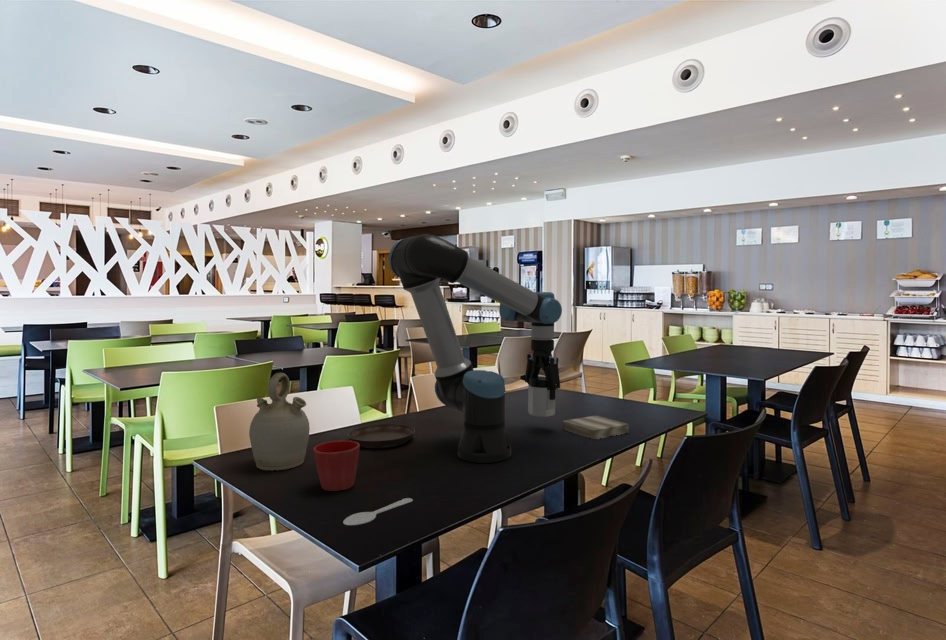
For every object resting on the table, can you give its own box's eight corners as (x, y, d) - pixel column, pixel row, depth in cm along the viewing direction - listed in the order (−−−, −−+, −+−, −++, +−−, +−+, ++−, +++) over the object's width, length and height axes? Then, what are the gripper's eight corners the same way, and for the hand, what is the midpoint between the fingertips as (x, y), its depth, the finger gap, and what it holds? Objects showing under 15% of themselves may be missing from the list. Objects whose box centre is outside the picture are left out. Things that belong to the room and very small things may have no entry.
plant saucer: (335, 448, 166) (335, 437, 166) (368, 431, 186) (367, 421, 186) (398, 453, 160) (397, 442, 160) (425, 435, 180) (425, 425, 180)
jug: (322, 460, 154) (320, 370, 152) (276, 476, 140) (274, 378, 139) (284, 452, 161) (282, 367, 160) (237, 467, 148) (234, 374, 147)
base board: (594, 439, 173) (594, 430, 172) (562, 429, 185) (562, 420, 185) (628, 433, 180) (628, 424, 180) (596, 423, 193) (596, 415, 193)
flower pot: (305, 486, 133) (304, 446, 133) (345, 475, 141) (344, 437, 141) (328, 497, 126) (327, 455, 125) (369, 485, 134) (368, 445, 133)
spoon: (419, 503, 123) (419, 501, 123) (352, 529, 109) (352, 527, 109) (403, 497, 126) (403, 495, 126) (336, 522, 113) (336, 519, 113)
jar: (542, 418, 178) (543, 380, 177) (523, 414, 184) (523, 378, 183) (559, 414, 184) (560, 378, 183) (540, 410, 190) (541, 375, 189)
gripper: (572, 340, 175) (571, 411, 176) (532, 336, 194) (531, 400, 195) (554, 341, 172) (553, 414, 173) (514, 336, 190) (513, 402, 191)
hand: (541, 406), depth 184 cm, fingers closed on jar, 9 cm apart
